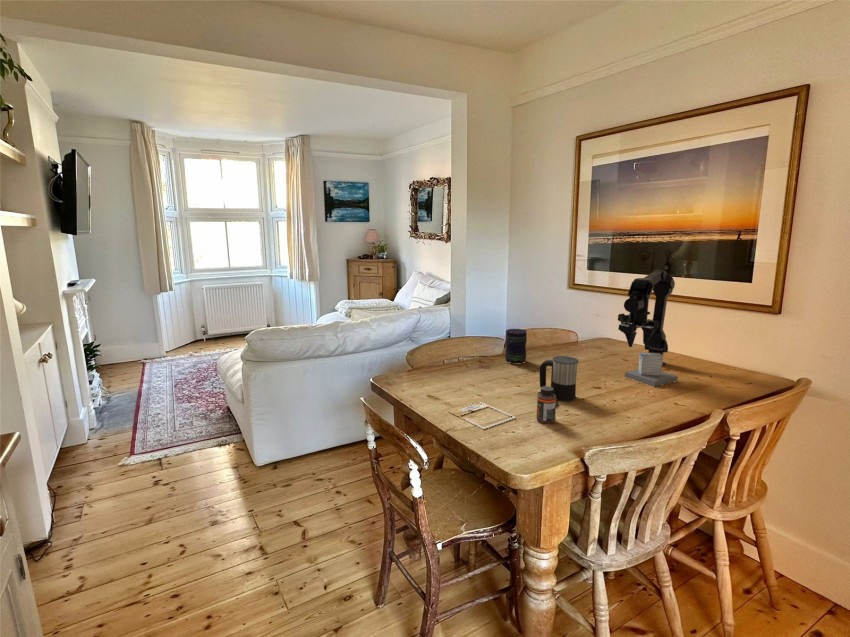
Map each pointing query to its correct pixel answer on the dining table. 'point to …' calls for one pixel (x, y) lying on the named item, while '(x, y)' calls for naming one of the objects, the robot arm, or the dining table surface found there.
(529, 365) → the dining table surface
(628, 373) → the riser block
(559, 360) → the milk frother
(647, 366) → the medicine box
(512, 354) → the storage jar
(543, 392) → the supplement bottle
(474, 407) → the photo frame
